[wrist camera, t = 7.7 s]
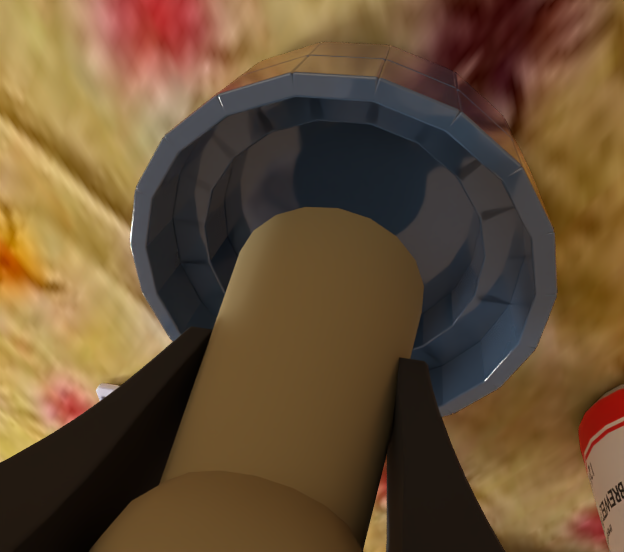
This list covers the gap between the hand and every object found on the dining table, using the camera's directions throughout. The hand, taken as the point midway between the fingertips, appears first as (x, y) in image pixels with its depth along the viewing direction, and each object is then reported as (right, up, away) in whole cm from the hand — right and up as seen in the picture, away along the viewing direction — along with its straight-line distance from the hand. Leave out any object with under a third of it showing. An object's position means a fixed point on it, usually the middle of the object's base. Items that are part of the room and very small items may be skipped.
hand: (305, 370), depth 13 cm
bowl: (+2, +4, +6) cm, 8 cm away
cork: (+1, +2, +3) cm, 4 cm away
